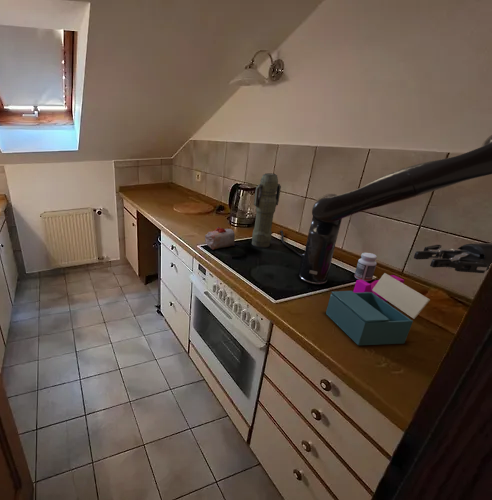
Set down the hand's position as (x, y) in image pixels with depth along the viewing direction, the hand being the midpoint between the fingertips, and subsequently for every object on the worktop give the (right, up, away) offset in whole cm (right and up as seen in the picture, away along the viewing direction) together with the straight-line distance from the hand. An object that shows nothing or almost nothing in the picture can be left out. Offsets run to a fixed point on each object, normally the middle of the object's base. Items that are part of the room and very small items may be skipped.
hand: (424, 259), depth 81 cm
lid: (-4, -10, +4) cm, 11 cm away
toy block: (+3, -14, +23) cm, 27 cm away
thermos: (-16, +5, +70) cm, 72 cm away
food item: (-38, +4, +69) cm, 79 cm away
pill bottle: (+10, -9, +36) cm, 38 cm away
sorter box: (-11, -21, +8) cm, 25 cm away
